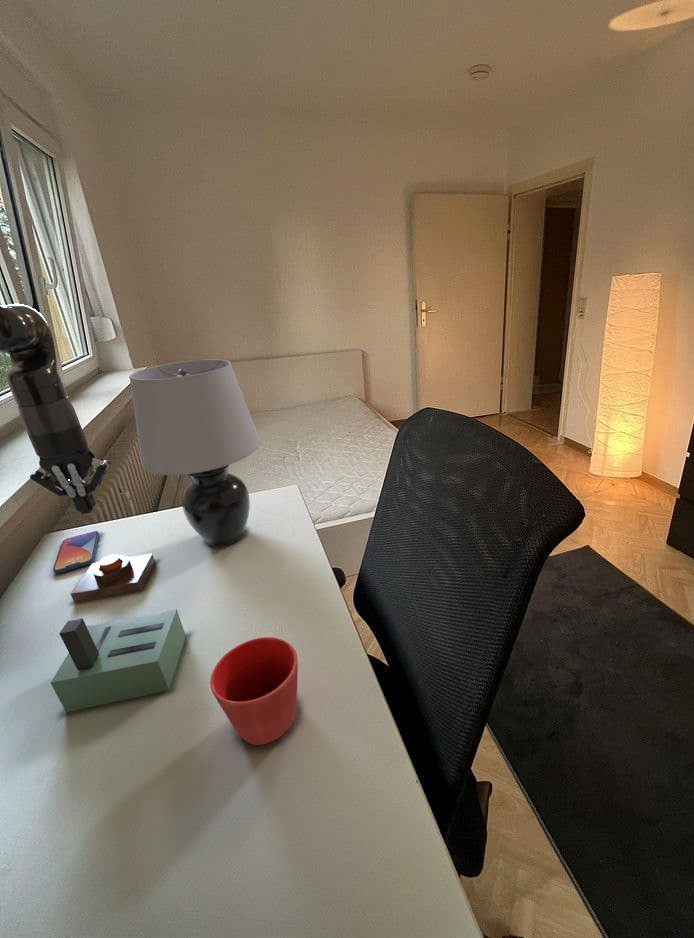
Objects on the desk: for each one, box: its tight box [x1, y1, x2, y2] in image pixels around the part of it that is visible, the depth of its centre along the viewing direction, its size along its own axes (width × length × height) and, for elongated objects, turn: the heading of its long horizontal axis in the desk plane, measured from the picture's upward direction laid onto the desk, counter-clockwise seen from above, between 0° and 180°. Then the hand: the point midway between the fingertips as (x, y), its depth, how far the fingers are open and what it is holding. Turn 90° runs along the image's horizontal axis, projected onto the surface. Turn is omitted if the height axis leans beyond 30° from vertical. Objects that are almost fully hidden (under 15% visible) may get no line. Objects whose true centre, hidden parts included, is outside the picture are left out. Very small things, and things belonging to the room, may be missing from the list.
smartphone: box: [52, 530, 100, 574], centre depth 102 cm, size 7×15×1 cm, turn 29°
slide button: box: [58, 618, 99, 670], centre depth 63 cm, size 2×2×7 cm
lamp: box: [128, 358, 261, 547], centre depth 97 cm, size 24×24×40 cm
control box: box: [70, 553, 156, 603], centre depth 91 cm, size 12×10×4 cm
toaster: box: [50, 609, 187, 713], centre depth 69 cm, size 14×11×6 cm
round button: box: [98, 554, 122, 572], centre depth 90 cm, size 4×4×2 cm
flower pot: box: [209, 636, 299, 746], centre depth 59 cm, size 11×11×10 cm
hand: (88, 511), depth 84 cm, fingers closed
